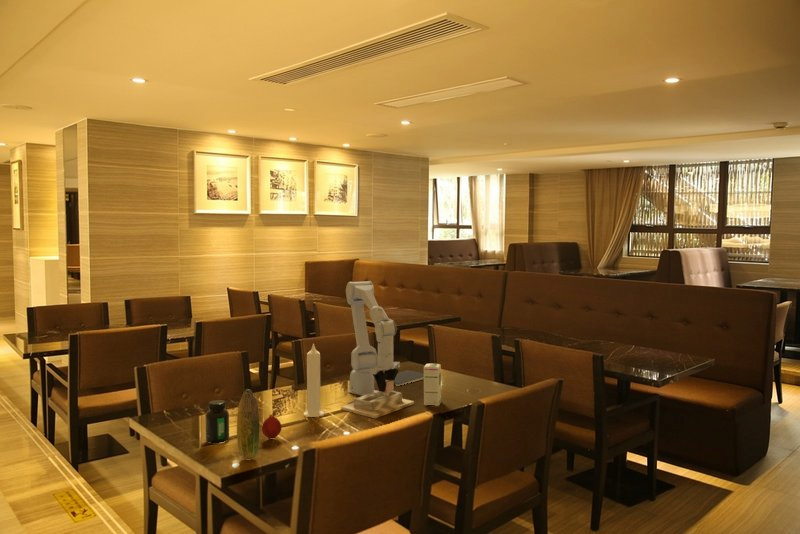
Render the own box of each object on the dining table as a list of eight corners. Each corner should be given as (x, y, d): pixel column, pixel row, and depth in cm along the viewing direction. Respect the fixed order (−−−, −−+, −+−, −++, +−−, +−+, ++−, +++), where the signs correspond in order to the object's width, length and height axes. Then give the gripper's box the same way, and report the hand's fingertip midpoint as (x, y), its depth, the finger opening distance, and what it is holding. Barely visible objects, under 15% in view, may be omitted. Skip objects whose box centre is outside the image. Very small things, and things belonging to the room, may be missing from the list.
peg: (376, 401, 220) (376, 380, 219) (385, 398, 224) (385, 377, 223) (386, 404, 217) (386, 382, 216) (395, 401, 221) (395, 380, 220)
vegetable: (232, 460, 166) (231, 390, 165) (246, 453, 172) (245, 384, 171) (250, 464, 164) (249, 392, 162) (264, 456, 169) (263, 387, 168)
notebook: (408, 373, 270) (376, 382, 254) (408, 370, 270) (376, 378, 254) (430, 378, 262) (398, 387, 246) (430, 374, 262) (398, 384, 246)
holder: (375, 418, 204) (375, 406, 204) (341, 409, 214) (341, 398, 214) (414, 403, 221) (414, 393, 221) (381, 396, 231) (381, 386, 231)
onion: (263, 436, 186) (263, 411, 185) (282, 436, 186) (282, 410, 186) (260, 443, 180) (260, 417, 179) (280, 442, 180) (279, 416, 180)
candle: (327, 413, 210) (327, 342, 208) (318, 419, 203) (318, 346, 201) (309, 411, 212) (309, 341, 210) (299, 416, 205) (299, 344, 204)
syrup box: (439, 406, 218) (439, 367, 217) (423, 405, 219) (423, 366, 218) (441, 402, 224) (441, 363, 223) (425, 401, 225) (425, 362, 224)
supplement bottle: (226, 444, 179) (226, 405, 178) (203, 445, 178) (202, 405, 178) (231, 436, 186) (230, 398, 185) (208, 437, 185) (208, 399, 184)
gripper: (381, 358, 211) (381, 396, 212) (406, 351, 223) (406, 387, 223) (366, 355, 216) (366, 392, 216) (391, 349, 227) (391, 384, 228)
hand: (385, 390), depth 220 cm, fingers closed on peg, 4 cm apart
